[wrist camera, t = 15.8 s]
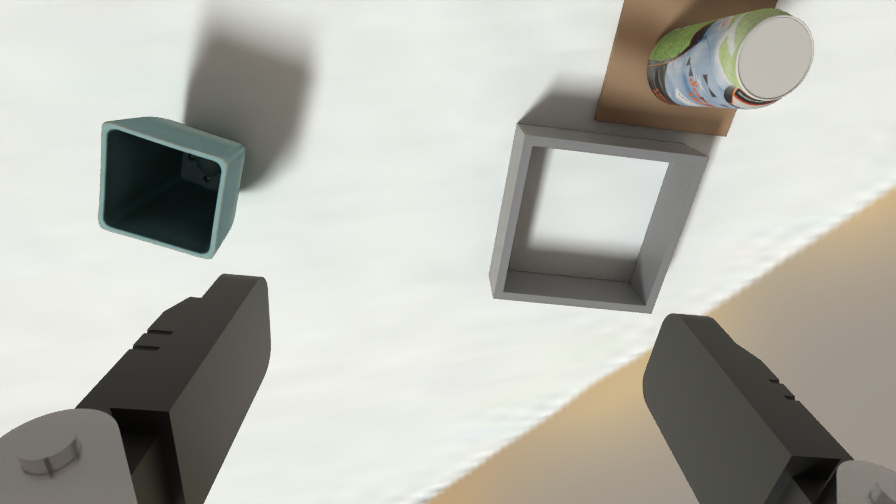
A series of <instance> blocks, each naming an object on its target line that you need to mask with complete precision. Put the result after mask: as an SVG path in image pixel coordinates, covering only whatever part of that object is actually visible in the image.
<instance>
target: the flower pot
mask: <svg viewBox="0 0 896 504" xmlns="http://www.w3.org/2000/svg"><path fill="white" fill-rule="evenodd" d="M190 154H193V155H195V159H191V158H190ZM245 155H246V148H245V146H244V145H243V144H241V143H238V142H235V141H232V140H229V139H226V138H223V137H220V136H217V135H214V134H211V133H208V132H205V131H202V130H199V129H196V128H193V127H190V126H187V125H184V124H181V123H178V122H175V121H172V120H168V119H164V118H158V117H140V118H131V119H123V120H115V121H107V122H104V123H103V124H102V132H101V170H100V171H101V173H100V196H99V197H100V198H99V212H98V221H99V225H100V227H101V228H102V229H105V230H107V231H110V232H114V233H118V234H121V235H125V236H128V237H132V238H135V239H139V240H142V241H145V242H149V243H153V244H156V245H160V246H163V247H166V248H170V249H173V250H176V251H179V252H183V253H186V254H190V255H193V256H196V257H200V258H204V259H212V258H213V256H214V255H215V253H216V252H217V250H218V248H219V247H220V245H221V244H222V242H223V240H224V239H225V237H226V235H227V234H228V232H229V230H230V228H231V226H232V224H233V221H234V217H235V212H236V206H237V200H238V194H239V188H240V183H241V177H242V171H243V166H244V160H245ZM206 176H209V177H211V180H210V181H208V180H206Z"/></svg>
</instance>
